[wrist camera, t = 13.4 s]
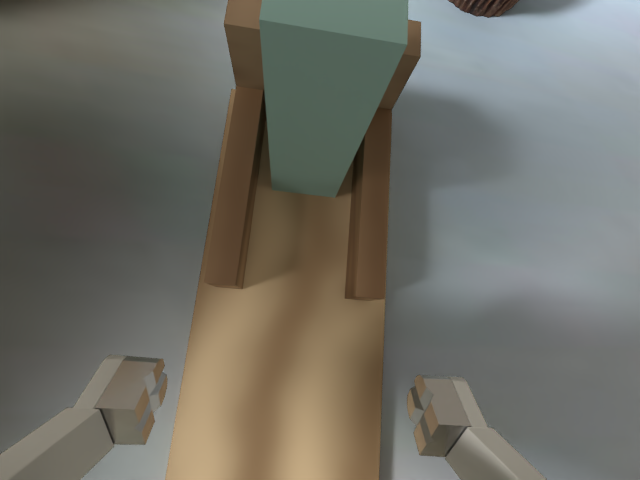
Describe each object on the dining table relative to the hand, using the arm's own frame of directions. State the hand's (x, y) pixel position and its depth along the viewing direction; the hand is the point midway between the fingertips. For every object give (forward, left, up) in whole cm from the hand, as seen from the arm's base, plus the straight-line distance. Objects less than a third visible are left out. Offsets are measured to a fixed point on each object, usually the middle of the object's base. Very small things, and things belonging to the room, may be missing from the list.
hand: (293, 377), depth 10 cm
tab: (0, +11, -8) cm, 14 cm away
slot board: (0, +4, -9) cm, 10 cm away
